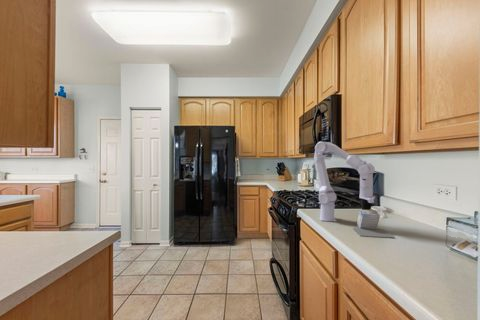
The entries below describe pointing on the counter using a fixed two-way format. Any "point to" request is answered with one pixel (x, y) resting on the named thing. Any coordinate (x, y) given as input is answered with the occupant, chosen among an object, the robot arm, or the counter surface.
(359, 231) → the mat
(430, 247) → the counter surface
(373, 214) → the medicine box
